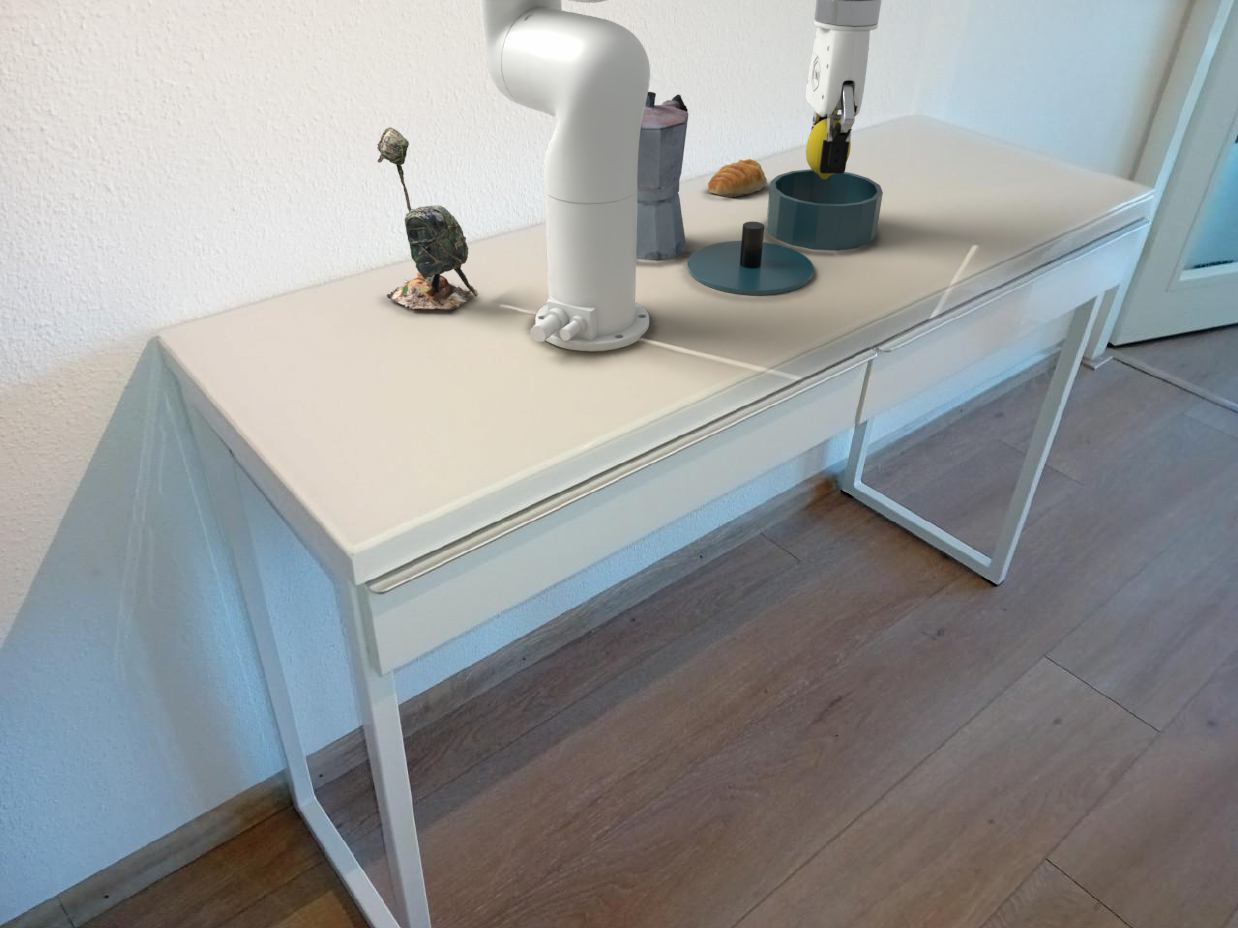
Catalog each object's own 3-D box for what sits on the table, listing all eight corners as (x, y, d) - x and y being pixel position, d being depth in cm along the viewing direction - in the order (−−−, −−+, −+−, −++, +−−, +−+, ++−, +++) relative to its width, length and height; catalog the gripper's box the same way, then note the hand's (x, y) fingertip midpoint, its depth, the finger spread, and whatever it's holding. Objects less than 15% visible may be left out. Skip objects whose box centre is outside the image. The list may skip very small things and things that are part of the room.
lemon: (843, 174, 129) (852, 111, 125) (847, 187, 125) (857, 122, 120) (801, 172, 130) (809, 109, 125) (803, 184, 125) (811, 120, 121)
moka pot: (590, 263, 123) (588, 99, 112) (644, 224, 134) (648, 71, 123) (658, 278, 119) (663, 110, 108) (708, 236, 131) (718, 80, 119)
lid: (787, 310, 112) (793, 259, 109) (666, 283, 118) (668, 234, 115) (828, 263, 124) (835, 216, 120) (716, 241, 129) (719, 195, 126)
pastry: (733, 203, 141) (734, 177, 139) (695, 193, 145) (696, 168, 143) (769, 187, 147) (771, 162, 145) (732, 178, 151) (734, 153, 149)
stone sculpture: (441, 328, 108) (421, 146, 97) (378, 299, 114) (352, 124, 103) (495, 305, 113) (483, 129, 102) (432, 278, 119) (414, 109, 108)
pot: (856, 262, 124) (864, 213, 120) (750, 241, 129) (754, 194, 126) (886, 225, 134) (894, 179, 131) (787, 208, 140) (792, 163, 136)
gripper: (800, 1, 123) (784, 146, 133) (833, 25, 109) (812, 186, 119) (859, 1, 124) (838, 146, 134) (899, 26, 109) (872, 186, 119)
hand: (826, 163), depth 126 cm, fingers closed on lemon, 5 cm apart
